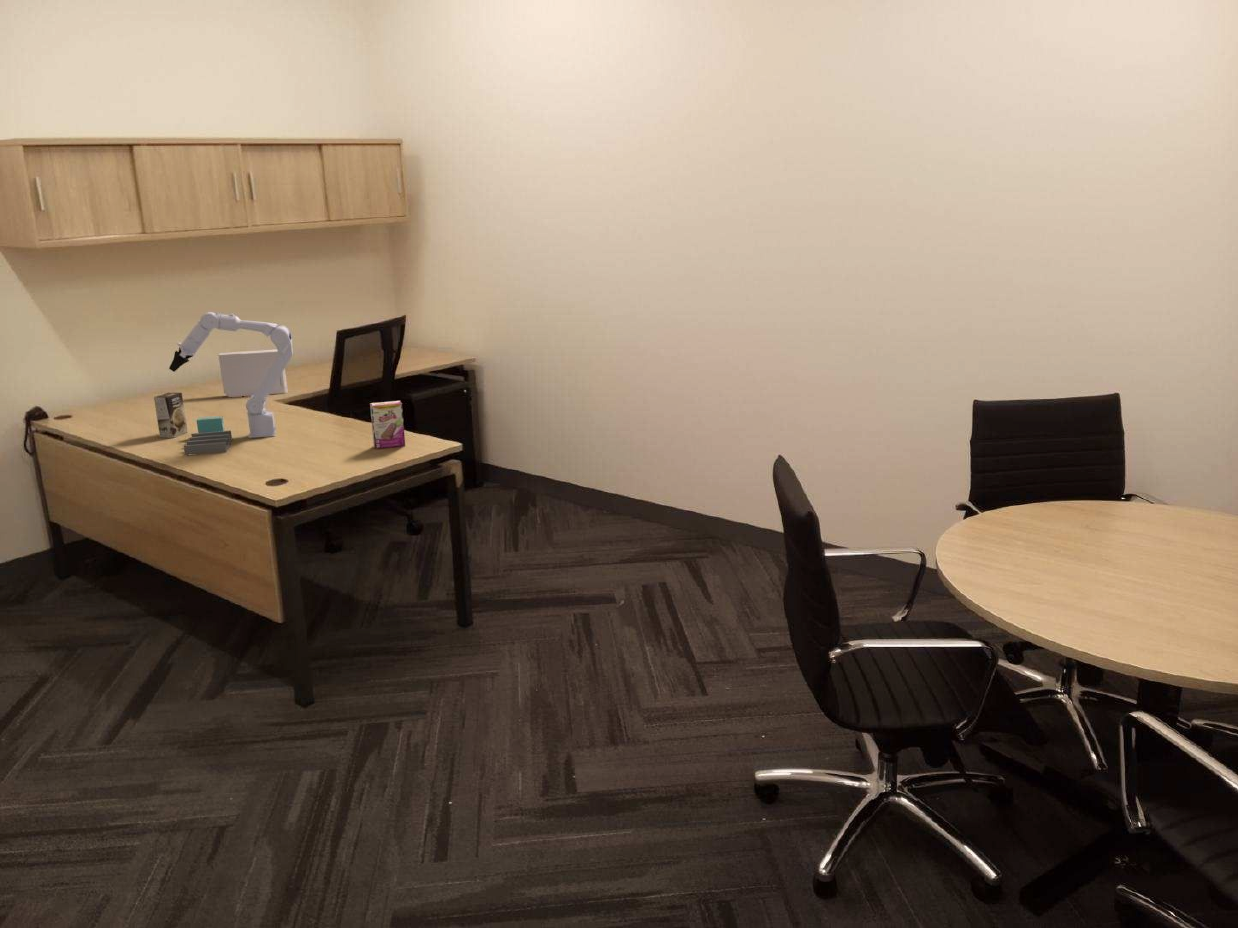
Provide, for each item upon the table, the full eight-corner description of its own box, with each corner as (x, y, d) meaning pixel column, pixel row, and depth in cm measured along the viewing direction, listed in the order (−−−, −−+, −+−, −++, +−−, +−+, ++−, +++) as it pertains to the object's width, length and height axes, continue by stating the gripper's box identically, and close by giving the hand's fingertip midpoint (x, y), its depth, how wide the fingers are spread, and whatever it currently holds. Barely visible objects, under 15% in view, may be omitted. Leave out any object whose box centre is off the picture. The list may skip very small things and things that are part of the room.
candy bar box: (375, 449, 351) (370, 405, 346) (373, 446, 356) (369, 403, 351) (406, 446, 355) (402, 402, 350) (404, 443, 359) (400, 400, 355)
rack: (232, 439, 370) (230, 430, 369) (226, 452, 352) (224, 442, 351) (193, 442, 366) (191, 433, 365) (185, 455, 349) (183, 446, 348)
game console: (287, 393, 446) (282, 350, 440) (224, 398, 439) (218, 355, 433) (287, 391, 451) (282, 348, 445) (225, 395, 444) (219, 352, 438)
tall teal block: (225, 434, 377) (222, 416, 374) (224, 437, 373) (221, 418, 371) (200, 436, 375) (197, 418, 372) (199, 439, 371) (196, 420, 369)
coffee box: (174, 438, 373) (167, 397, 368) (159, 437, 374) (152, 397, 369) (188, 432, 381) (182, 392, 377) (174, 431, 383) (167, 391, 378)
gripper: (188, 329, 365) (167, 357, 366) (182, 336, 351) (160, 365, 352) (205, 341, 367) (184, 368, 368) (199, 348, 354) (177, 377, 355)
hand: (173, 368), depth 361 cm, fingers open, 7 cm apart
